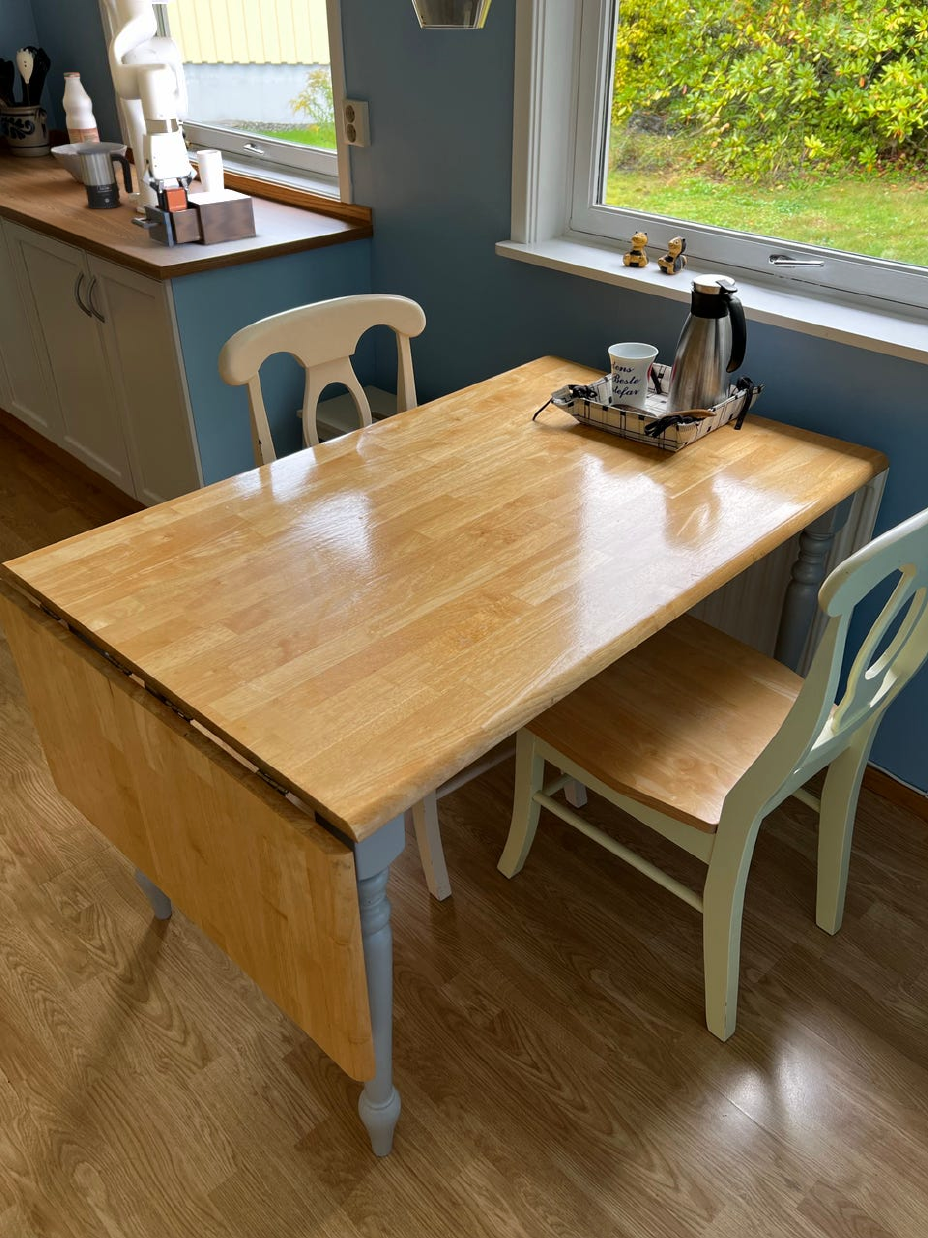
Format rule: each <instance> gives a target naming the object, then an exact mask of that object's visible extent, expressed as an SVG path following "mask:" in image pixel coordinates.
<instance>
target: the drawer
mask: <svg viewBox="0 0 928 1238" xmlns="http://www.w3.org/2000/svg"><path fill="white" fill-rule="evenodd" d="M144 208H145V218H137V217H132V218H131V219H130V222H131V224H132V225H133V226H136V227H139V228H141V229H143V230H147V231H148V237H149V239H151V240H153V241H156V242H158V243H160V244H163V245H165V246H167V247H169V248H170V247H175V243H176V244H182V243H188V242H195V241H194V240H200V239H203V235H202V228H201V221H200V214H199V207H196V206H193V205H190V204H188V207H187V209H184V210H177V211H168V210H163V209H161V208H160V206H159V205H155V207H152V206H150V205H144Z"/></svg>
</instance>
